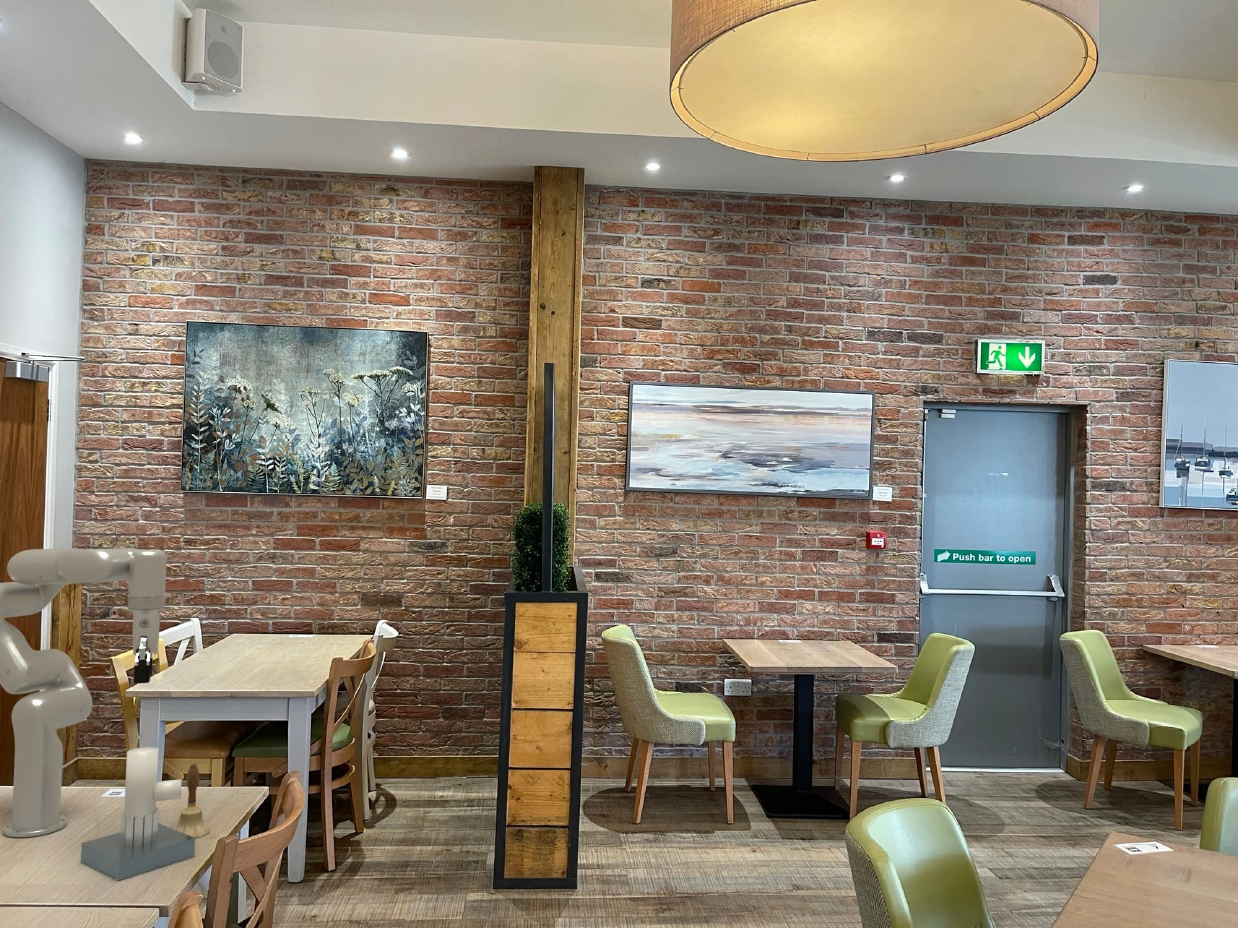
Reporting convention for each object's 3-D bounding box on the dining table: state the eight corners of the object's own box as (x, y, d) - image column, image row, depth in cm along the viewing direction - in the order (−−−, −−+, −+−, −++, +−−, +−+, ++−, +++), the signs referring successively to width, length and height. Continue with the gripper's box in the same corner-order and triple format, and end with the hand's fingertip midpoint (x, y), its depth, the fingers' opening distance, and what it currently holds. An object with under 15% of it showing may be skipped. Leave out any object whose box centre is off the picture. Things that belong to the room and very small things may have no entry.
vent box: (80, 861, 189) (83, 814, 190) (155, 839, 202) (157, 795, 203) (118, 880, 180) (120, 830, 181) (194, 856, 193) (196, 809, 194)
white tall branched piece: (122, 832, 188) (125, 755, 189) (124, 823, 193) (128, 748, 194) (179, 825, 192) (182, 750, 193) (180, 816, 198) (183, 743, 199)
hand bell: (217, 829, 210) (220, 761, 210) (190, 841, 202) (193, 770, 203) (190, 825, 212) (192, 757, 213) (161, 837, 204) (164, 766, 205)
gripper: (163, 607, 198) (159, 684, 197) (166, 599, 214) (162, 671, 213) (124, 608, 195) (121, 687, 194) (130, 600, 211) (127, 673, 210)
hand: (142, 679), depth 204 cm, fingers open, 9 cm apart
